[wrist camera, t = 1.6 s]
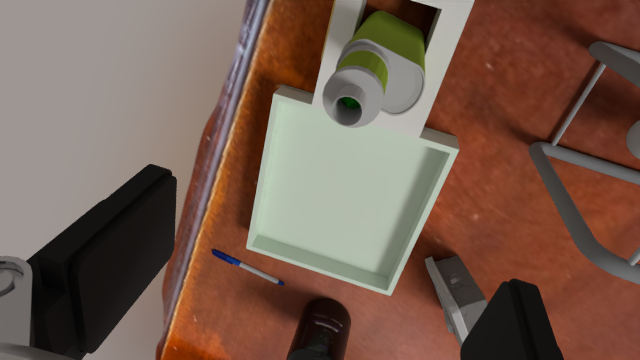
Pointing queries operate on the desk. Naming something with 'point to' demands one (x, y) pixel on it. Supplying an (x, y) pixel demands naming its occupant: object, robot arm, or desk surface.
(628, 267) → the newton's cradle
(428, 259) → the electrical switch
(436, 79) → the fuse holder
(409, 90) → the vape
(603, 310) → the desk surface
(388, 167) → the parts tray
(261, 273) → the ballpoint pen
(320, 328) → the supplement bottle
